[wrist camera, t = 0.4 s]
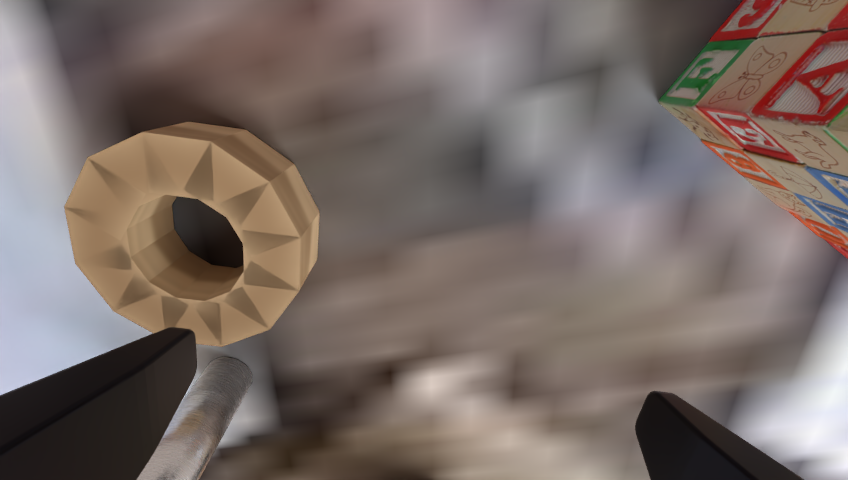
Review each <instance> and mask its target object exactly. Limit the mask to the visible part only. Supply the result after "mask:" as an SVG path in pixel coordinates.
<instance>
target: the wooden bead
mask: <svg viewBox="0 0 848 480" xmlns="http://www.w3.org/2000/svg"><path fill="white" fill-rule="evenodd" d="M177 196H180V197H187V198H195V199H199V200H200V201H202V202H204V203H205V204H207V205H208V206H210V207H211V208H213V209H214V210H216V211H217V212H219V213H221V214H222V215H224V216H225V217H227V219H228V221H229V222H230V224H231V225H232V227H233V229H234V230H235V232H236V234H237V235H238V237H239V238H240V240H241V242H242V243H243V260H244V265H243V266H240V267H238V268H233V267H225V266H217V265H211V264H209V263H208V262H206V261H205V260H203V259H201V258H200V257H198V256H196V255H195V254H193V253H192V252H190V251H189V250H188V249H187V247H186V246H185V244H184V243H183V241H182V240H181V238H180V237H179V235H178V234H177V233H176V231H175V230H174V221H173V211H172V204H173V202H174V201H175V199H176V197H177ZM64 208H65V214H66V219H67V224H68V229H69V234H70V239H71V244H72V249H73V254H74V259H75V264H76V265H77V266H78V267H79V269H80V270H81V271H82V272H83V274H84V275H85V276H86V277H87V279H88V280H89V281H90V282H91V284H92V285H93V286H94V287H95V289H96V290H97V291H98V292H99V294H100V295H101V296H102V297H103V299H104V300H105V301H106V302H107V304H108V305H109V306H110V308H111V309H112V310H113V311H114V312H116V313H118V314H120V315H121V316H123V317H125V318H127V319H129V320H130V321H132V322H134V323H136V324H138V325H139V326H141V327H143V328H145V329H147V330H149V331H150V332H152V333H156V332H158V331H161V330H163V329H166V328H169V327H178V328H186V329H191V330H192V331H194V333H195V337H196V344H203V345H211V346H220V347H223V346H225V345H228V344H231V343H234V342H237V341H239V340H242V339H245V338H248V337H250V336H253V335H256V334H259V333H262V332H264V331H267V330H270V329H271V327H272V326H273V325H274V323H275V322H276V321H277V319H278V318H279V317H280V315H281V314H282V313H283V311H284V310H285V309H286V307H287V306H288V305H289V304H290V302H291V301H292V300H293V298H294V297H295V296H296V294H297V293H298V292H299V290H300V289H301V287H302V285H303V283H304V282H305V280H306V278H307V276H308V275H309V273H310V271H311V269H312V268H313V266H314V264H315V262H316V260H317V255H318V234H319V210H318V208H317V206H316V204H315V203H314V201H313V199H312V197H311V195H310V193H309V191H308V189H307V187H306V185H305V184H304V182H303V180H302V178H301V176H300V174H299V172H298V170H297V168H296V166H295V165H294V163H292V162H291V161H289V160H288V159H287V158H285V157H284V156H282V155H281V154H279V153H278V152H277V151H275V150H274V149H272V148H271V147H270V146H268V145H267V144H265V143H264V142H263V141H261V140H260V139H258V138H257V137H256V136H254V135H253V134H251V133H250V132H249V131H247V130H245V129H238V128H231V127H224V126H216V125H209V124H202V123H195V122H184V123H180V124H175V125H171V126H166V127H162V128H157V129H153V130H149V131H144V132H141V133H139V134H137V135H135V136H133V137H130V138H128V139H126V140H124V141H122V142H120V143H117V144H115V145H113V146H111V147H109V148H107V149H105V150H102V151H100V152H98V153H96V154H94V155H92V156H89V157H87V160H86V162H85V164H84V166H83V168H82V170H81V172H80V175H79V177H78V179H77V181H76V183H75V185H74V187H73V189H72V192H71V194H70V196H69V198H68V200H67V202H66V204H65V206H64Z"/></svg>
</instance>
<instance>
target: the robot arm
mask: <svg viewBox="0 0 848 480" xmlns="http://www.w3.org/2000/svg"><path fill="white" fill-rule="evenodd" d="M196 368H197V356H196V337H195V333H194V331H192V330H191V329H186V328H178V327H169V328H166V329H163V330H161V331H158V332H156V333H154V334H151V335H149V336H146V337H144V338H141V339H139V340H136V341H134V342H131V343H129V344H126V345H124V346H121V347H119V348H116V349H114V350H111V351H109V352H107V353H104V354H102V355H99V356H97V357H94V358H92V359H89V360H87V361H84V362H82V363H79V364H77V365H74V366H72V367H69V368H67V369H64V370H62V371H60V372H57V373H55V374H52V375H50V376H47V377H45V378H42V379H40V380H37V381H35V382H32V383H30V384H27V385H25V386H22V387H20V388H17V389H15V390H12V391H10V392H8V393H5V394H3V395H0V480H137V478H138V477H139V475H140V474H141V472H142V471H143V469H144V468H145V466H146V465H147V463H148V462H149V460H150V458H151V457H152V455H153V454H154V452H155V450H156V448H157V446H158V445H159V443H160V441H161V439H162V437H163V435H164V433H165V432H166V430H167V428H168V426H169V424H170V422H171V420H172V418H173V416H174V414H175V413H176V411H177V409H178V407H179V405H180V403H181V401H182V399H183V397H184V395H185V393H186V392H187V390H188V388H189V386H190V384H191V382H192V380H193V378H194V376H195V373H196ZM635 430H636V436H637V439H638V442H639V445H640V448H641V451H642V454H643V457H644V460H645V463H646V466H647V470H648V473H649V476H650V479H651V480H804V479H803V478H801V477H800V476H798V475H797V474H795V473H793V472H792V471H790V470H789V469H787V468H786V467H784V466H783V465H781V464H780V463H778V462H777V461H775V460H774V459H772V458H771V457H769V456H768V455H766V454H765V453H763V452H762V451H760V450H759V449H757V448H756V447H754V446H752V445H751V444H749V443H748V442H746V441H745V440H743V439H742V438H740V437H739V436H737V435H736V434H734V433H733V432H731V431H730V430H728V429H727V428H725V427H724V426H722V425H721V424H719V423H718V422H716V421H715V420H713V419H711V418H710V417H708V416H707V415H705V414H704V413H702V412H701V411H699V410H698V409H696V408H695V407H693V406H692V405H690V404H689V403H687V402H686V401H684V400H683V399H681V398H680V397H678V396H677V395H675V394H672V393H667V392H660V391H652V392H650V393H649V394H648V396H647V398H646V400H645V402H644V404H643V407H642V409H641V411H640V413H639V416H638V418H637V420H636V425H635Z"/></svg>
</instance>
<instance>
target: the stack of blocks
mask: <svg viewBox="0 0 848 480" xmlns="http://www.w3.org/2000/svg"><path fill="white" fill-rule="evenodd" d="M658 102H659V104H661V105H662V106H663V107H664V108H665V109H666V110H668V111H669V112H670V113H671V114H672V115H674V116H675V117H676V118H677V119H678V120H679V121H681V122H682V123H683V124H684V125H685V126H686V127H688V128H689V129H690V130H691V131H692V132H694V133H695V134H696V135H697V136H698V137H699V138H701V141H702V143H704V144H705V145H706V146H707V147H708V148H710V149H711V150H712V151H713V152H714V153H716V154H717V155H718V156H719V157H720V158H722V159H723V160H724V161H725V162H726V163H728V164H729V165H730V166H731V167H732V168H733V169H735V170H736V171H737V172H738V173H739V174H741V175H742V176H743V177H744V178H745V179H747V180H748V181H749V182H750V183H751V184H752V185H753V186H754V187H756V188H757V189H758V190H759V191H760V192H762V193H763V194H764V195H765V196H766V197H768V198H769V199H770V200H771V201H773V202H774V203H775V204H776V205H777V206H779V207H780V208H783V209H785V210H788V211H789V213H791V214H792V215H794V216H795V217H796V218H797V219H799V220H800V221H801V222H802V223H803V224H804V225H806V226H807V227H808V228H809V229H810V230H812V231H813V232H814V233H815V234H816V235H817V236H819V237H821V238H823V239H825V240H826V241H827V242H828V243H829V244H830V245H831V246H833V247H834V248H835V249H836V250H837V251H839V252H840V253H841V254H842V255H844V256H845V257H846V258H847V259H848V0H743V1H742V2H741V3H740V4H739V6H738V7H737V8H736V9H735V10H734V11H733V13H732V14H731V15H730V16H729V17H728V19H727V20H726V21H725V22H724V23H723V24H722V26H721V27H720V28H719V29H718V30H717V32H716V33H715V34H714V35H713V36H712V37H711V39H710V40H709V42H708V44H707V45H706V46H705V47H704V48H703V50H702V51H701V52H700V53H699V54H698V55H697V57H696V58H695V59H694V60H693V61H692V62H691V63H690V65H689V66H688V67H687V68H686V69H685V70H684V72H683V73H682V74H681V75H680V76H679V77H678V79H677V80H676V81H675V82H674V83H673V84H672V86H671V87H670V88H669V89H668V90H667V91H666V93H665V94H664V95H663V96H662V97H661V98H660V99H659V101H658Z"/></svg>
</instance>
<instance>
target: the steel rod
mask: <svg viewBox="0 0 848 480" xmlns="http://www.w3.org/2000/svg"><path fill="white" fill-rule="evenodd" d="M252 381H253V377H252V373H251V371H250V369H249V368H248V367H247V366H246V365H245V364H244V363H243V362H241V361H239V360H237V359H235V358H230V357H220V358H217V359H214V360H213V361H211V362H210V363H209V365H208V366H207V367H206V369H205V370H204V371H203V373H202V374H201V375H200V377H199V378H198V380H197V381H196V382H195V384H194V385H193V386H192V388H191V389H190V390H189V392H188V393H187V394H186V396H185V397H184V399H183V400H182V401H181V403H180V405H179V407H178V409H177V411H176V413H175V414H174V416H173V418H172V420H171V422H170V424H169V426H168V428H167V430H166V432H165V433H164V435H163V437H162V439H161V441H160V443H159V445H158V446H157V448H156V450H155V452H154V454H153V455H152V457H151V458H150V460H149V462H148V463H147V465H146V466H145V468H144V469H143V471H142V472H141V474H140V475H139V477H138V478H137V480H199V478H200V476H201V475H202V473H203V471H204V469H205V467H206V466H207V464H208V462H209V460H210V458H211V457H212V455H213V453H214V451H215V449H216V447H217V446H218V444H219V442H220V440H221V438H222V437H223V435H224V433H225V431H226V429H227V428H228V426H229V424H230V422H231V420H232V419H233V417H234V415H235V413H236V411H237V410H238V408H239V406H240V404H241V402H242V400H243V399H244V397H245V395H246V393H247V391H248V390H249V388H250V386H251V384H252Z"/></svg>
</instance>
